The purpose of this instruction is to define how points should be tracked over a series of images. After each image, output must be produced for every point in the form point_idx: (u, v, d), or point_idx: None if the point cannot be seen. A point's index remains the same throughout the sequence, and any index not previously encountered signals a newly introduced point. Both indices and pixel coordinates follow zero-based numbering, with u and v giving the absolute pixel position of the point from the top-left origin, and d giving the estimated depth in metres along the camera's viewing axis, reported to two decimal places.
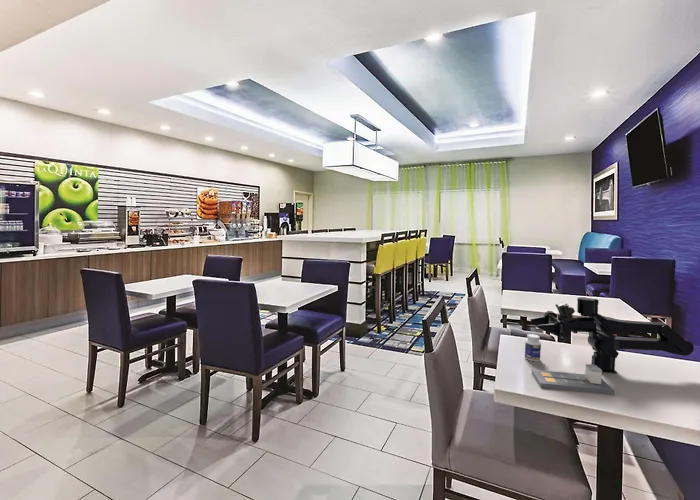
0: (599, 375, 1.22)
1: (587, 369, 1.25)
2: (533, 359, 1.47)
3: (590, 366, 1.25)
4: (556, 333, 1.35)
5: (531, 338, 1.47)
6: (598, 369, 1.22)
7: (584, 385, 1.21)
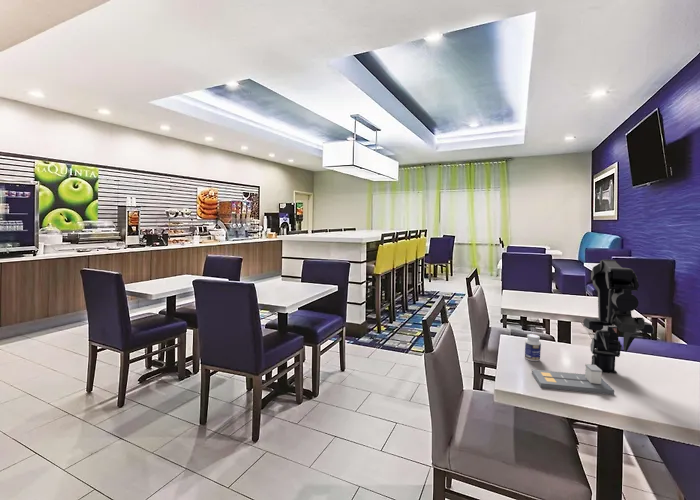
0: (599, 375, 1.22)
1: (587, 369, 1.25)
2: (533, 359, 1.47)
3: (590, 366, 1.25)
4: None
5: (531, 338, 1.47)
6: (598, 369, 1.22)
7: (584, 385, 1.21)
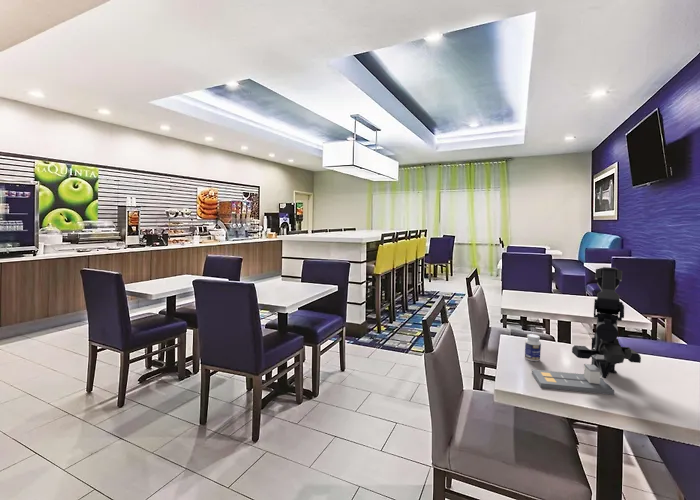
0: (598, 375, 1.22)
1: (586, 369, 1.26)
2: (533, 359, 1.47)
3: (589, 366, 1.25)
4: None
5: (531, 338, 1.47)
6: (597, 369, 1.22)
7: (584, 385, 1.21)
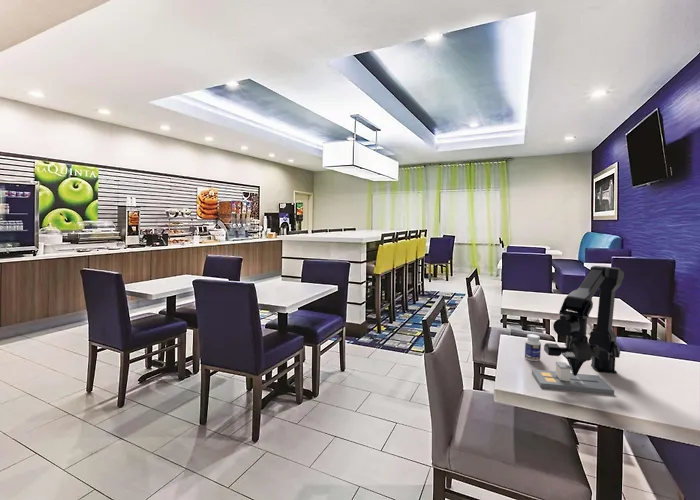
0: (568, 372, 1.24)
1: (557, 366, 1.28)
2: (533, 359, 1.47)
3: (560, 363, 1.27)
4: None
5: (531, 338, 1.47)
6: (567, 367, 1.24)
7: (584, 385, 1.21)
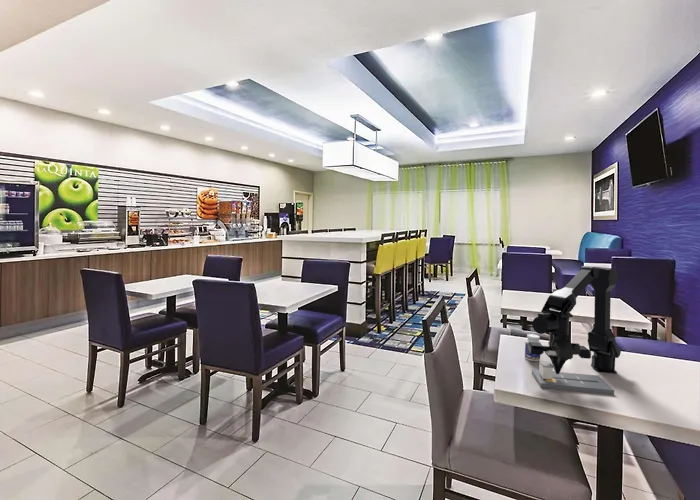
0: (550, 371, 1.25)
1: (540, 365, 1.29)
2: (533, 359, 1.47)
3: (543, 362, 1.28)
4: None
5: (531, 338, 1.47)
6: (550, 365, 1.26)
7: (584, 385, 1.21)
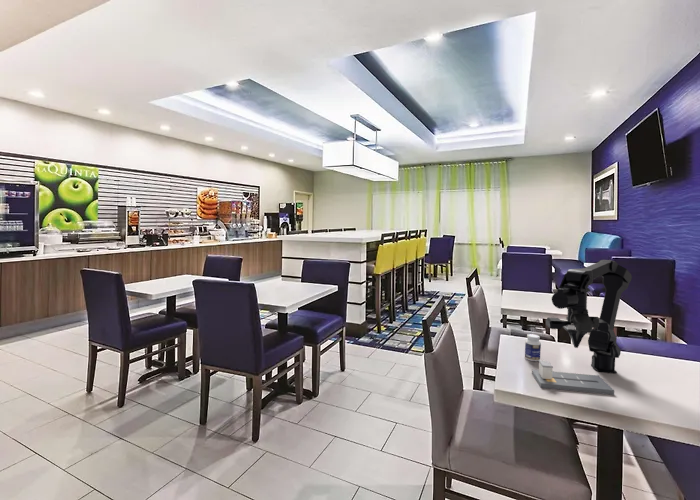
0: (550, 371, 1.25)
1: (540, 365, 1.29)
2: (533, 359, 1.47)
3: (542, 362, 1.28)
4: None
5: (531, 338, 1.47)
6: (549, 365, 1.26)
7: (584, 385, 1.21)
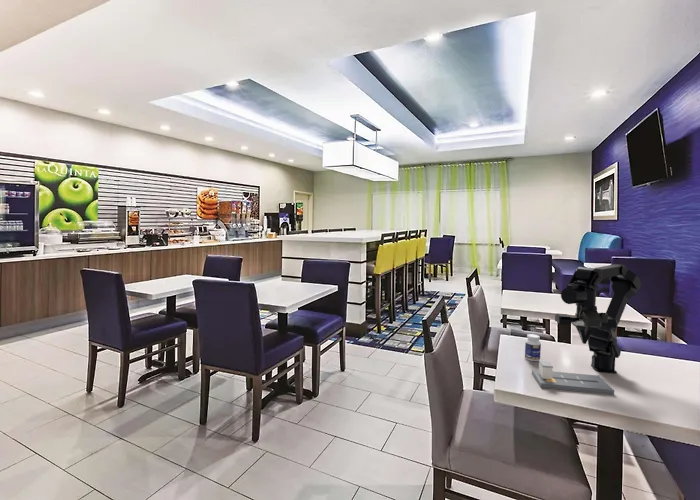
0: (550, 371, 1.25)
1: (540, 365, 1.29)
2: (533, 359, 1.47)
3: (542, 362, 1.28)
4: None
5: (531, 338, 1.47)
6: (549, 365, 1.26)
7: (584, 385, 1.21)
